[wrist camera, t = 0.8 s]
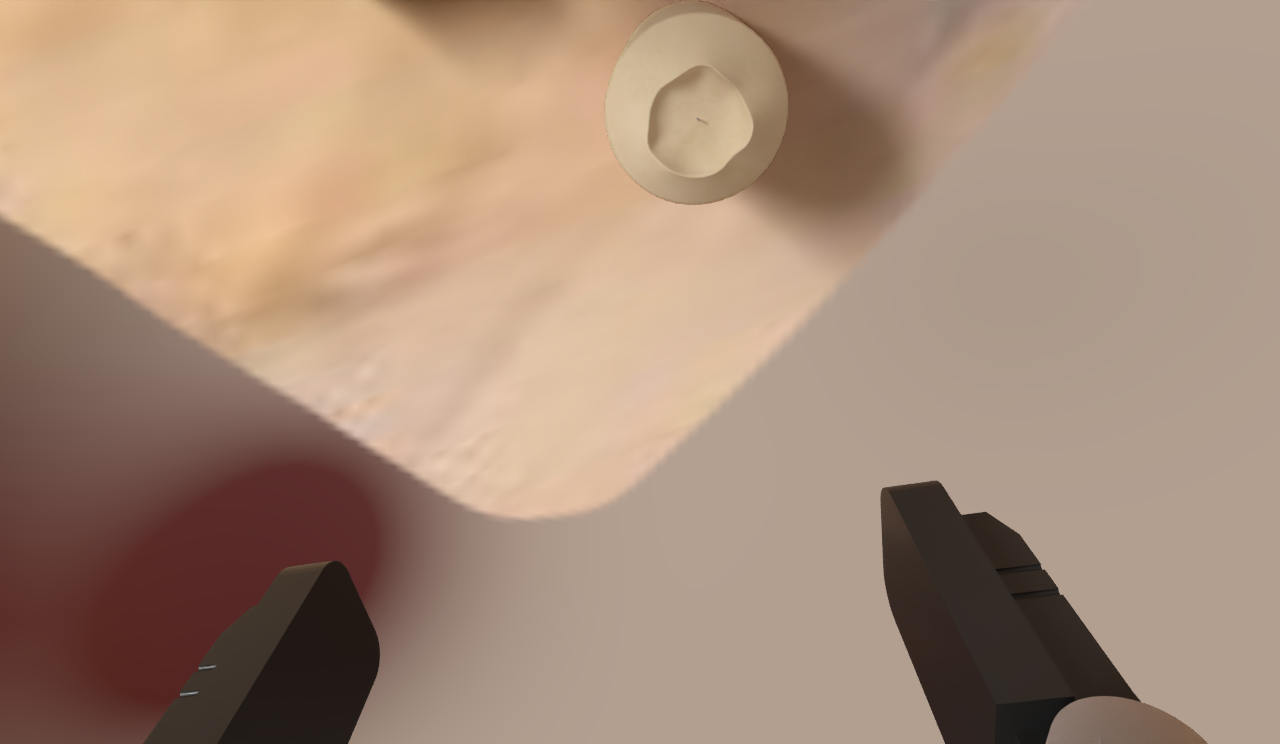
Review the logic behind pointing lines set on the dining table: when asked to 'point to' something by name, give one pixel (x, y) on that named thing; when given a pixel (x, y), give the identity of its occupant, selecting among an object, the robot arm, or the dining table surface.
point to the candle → (695, 104)
